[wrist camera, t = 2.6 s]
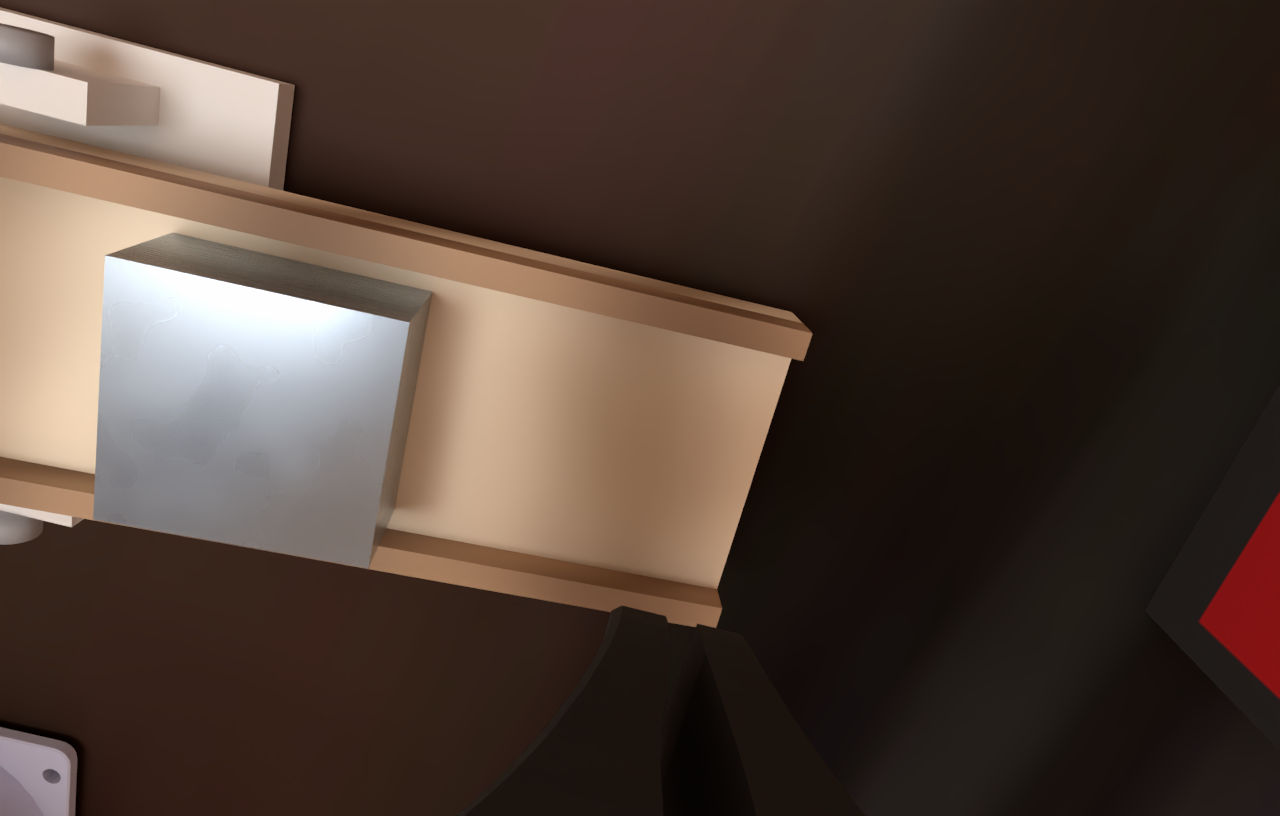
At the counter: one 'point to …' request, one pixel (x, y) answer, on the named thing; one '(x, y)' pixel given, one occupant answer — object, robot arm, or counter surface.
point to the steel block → (254, 398)
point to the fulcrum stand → (136, 123)
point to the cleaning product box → (1234, 581)
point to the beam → (428, 381)
